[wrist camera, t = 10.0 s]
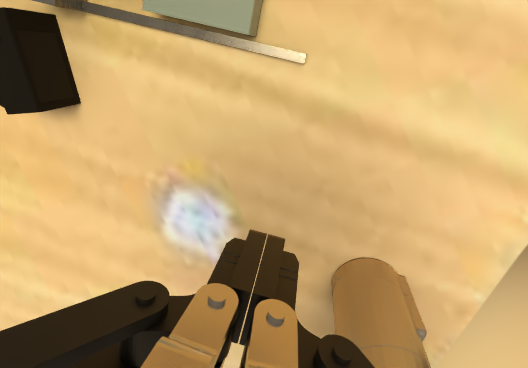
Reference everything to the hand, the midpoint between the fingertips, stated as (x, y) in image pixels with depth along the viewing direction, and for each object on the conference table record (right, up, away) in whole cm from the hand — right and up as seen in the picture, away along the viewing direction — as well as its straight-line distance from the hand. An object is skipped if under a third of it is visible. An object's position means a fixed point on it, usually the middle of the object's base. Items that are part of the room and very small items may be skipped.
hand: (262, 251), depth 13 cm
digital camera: (-27, +18, +27) cm, 42 cm away
